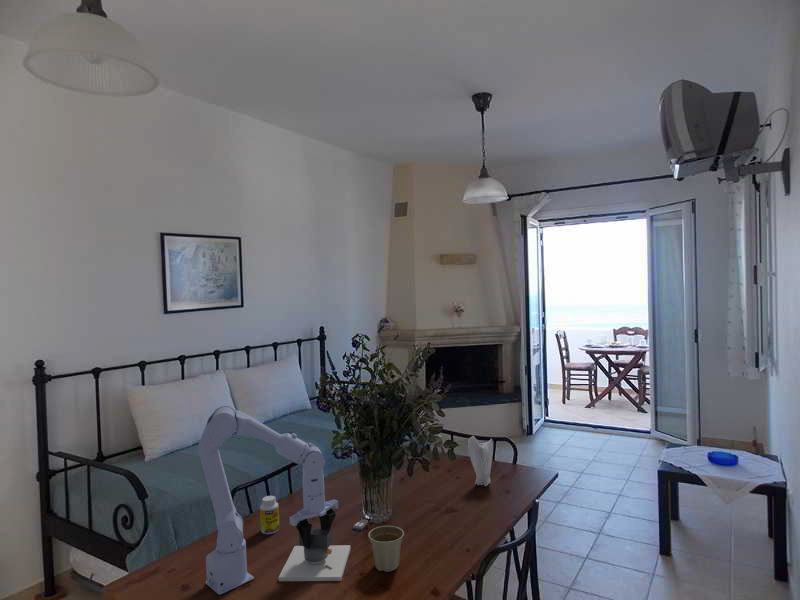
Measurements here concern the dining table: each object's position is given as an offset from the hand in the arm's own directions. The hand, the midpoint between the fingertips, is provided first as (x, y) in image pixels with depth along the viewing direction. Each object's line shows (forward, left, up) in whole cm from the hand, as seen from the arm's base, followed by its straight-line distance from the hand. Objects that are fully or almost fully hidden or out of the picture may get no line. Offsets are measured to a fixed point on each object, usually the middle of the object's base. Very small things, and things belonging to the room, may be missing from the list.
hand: (316, 542), depth 137 cm
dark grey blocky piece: (0, 0, -3) cm, 3 cm away
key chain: (+26, +9, -7) cm, 28 cm away
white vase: (+74, -1, -6) cm, 74 cm away
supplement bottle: (+2, +27, -6) cm, 28 cm away
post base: (0, 0, -6) cm, 6 cm away
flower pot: (+12, -15, -6) cm, 20 cm away
